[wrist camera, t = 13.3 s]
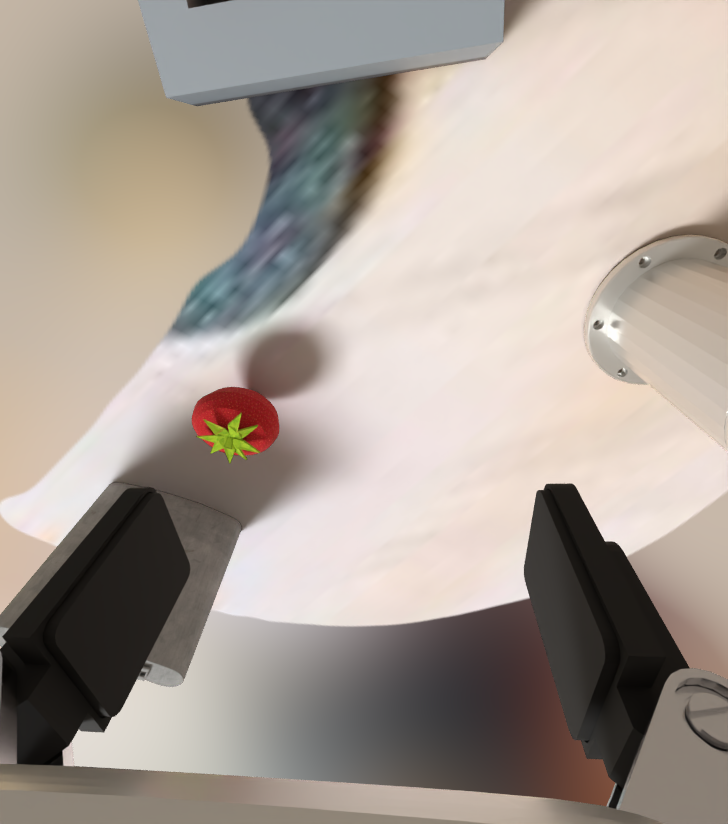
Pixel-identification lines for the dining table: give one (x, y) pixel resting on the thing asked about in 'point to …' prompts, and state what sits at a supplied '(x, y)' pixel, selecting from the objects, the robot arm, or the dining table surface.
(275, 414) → the strawberry
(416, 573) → the dining table surface
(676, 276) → the robot arm
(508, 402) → the dining table surface
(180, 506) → the hip flask
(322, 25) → the hole block
